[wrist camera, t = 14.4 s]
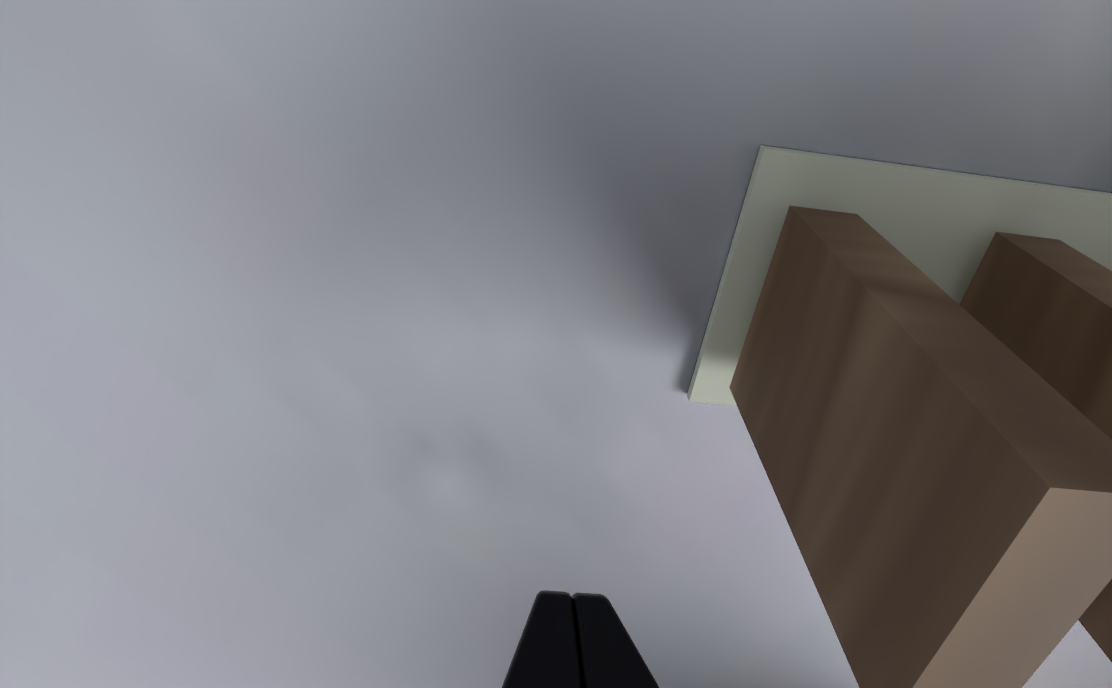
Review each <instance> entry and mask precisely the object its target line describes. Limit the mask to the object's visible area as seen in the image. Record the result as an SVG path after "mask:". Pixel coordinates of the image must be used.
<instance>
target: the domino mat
mask: <svg viewBox="0 0 1112 688" xmlns="http://www.w3.org/2000/svg"><path fill="white" fill-rule="evenodd" d="M789 206H798V207H806V208H814V209H822V210H830V211H837V212H845V213H853V214H858V215H859V216H860V217H861V218H862V219H863V220H864V221H866V222H867V223H868V224H869V225H870V226H871V227H872V228H873V229H875V230H876V231H877V232H878V233H879V234H880V235H881V236H882V237H884V238H885V239H886V240H887V241H888V242H889V243H890V244H892V245H893V246H894V247H895V248H896V249H897V250H898V251H899V252H901V253H902V254H903V255H904V256H905V257H906V258H907V259H908V260H910V261H911V262H912V263H913V264H914V265H915V266H916V267H917V268H919V269H920V270H921V271H922V272H923V273H924V274H925V275H926V276H928V277H929V278H930V279H931V280H932V281H933V282H934V283H935V284H937V285H938V286H939V287H940V288H941V289H942V290H943V291H945V292H946V293H947V294H948V295H949V296H950V297H951V298H952V299H954V300H955V301H956V302H957V303H958V304H960V302H961V300H962V298H963V296H964V294H965V292H966V290H967V288H968V286H969V284H970V282H971V280H972V278H973V276H974V274H975V272H976V270H977V268H978V266H979V264H980V263H981V261H982V259H983V257H984V255H985V253H986V251H987V249H988V247H989V245H990V243H991V241H992V239H993V237H994V235H995V233H996V232H1003V233H1011V234H1019V235H1027V236H1034V237H1042V238H1050V239H1058V240H1061V241H1062V242H1064V243H1066V244H1067V245H1069V246H1071V247H1072V248H1074V249H1076V250H1077V251H1079V252H1081V253H1082V254H1084V255H1086V256H1087V257H1089V258H1091V259H1092V260H1094V261H1096V262H1097V263H1099V264H1101V265H1102V266H1104V267H1106V268H1107V269H1109V270H1111V271H1112V193H1107V192H1099V191H1092V190H1085V189H1077V188H1070V187H1063V186H1055V185H1048V184H1041V183H1033V182H1026V181H1019V180H1011V179H1004V178H997V177H989V176H982V175H975V174H967V173H960V172H953V171H945V170H938V169H931V168H923V167H916V166H909V165H902V164H894V163H887V162H880V161H872V160H865V159H858V158H850V157H843V156H836V155H828V154H821V153H814V152H806V151H799V150H792V149H784V148H777V147H770V146H762V145H760V149H759V152H758V156H757V159H756V162H755V166H754V169H753V173H752V176H751V179H750V183H749V186H748V190H747V193H746V196H745V200H744V203H743V207H742V210H741V213H740V217H739V220H738V224H737V227H736V230H735V234H734V237H733V241H732V244H731V247H730V251H729V254H728V258H727V261H726V264H725V268H724V271H723V275H722V278H721V281H720V285H719V288H718V291H717V295H716V298H715V302H714V305H713V308H712V312H711V315H710V319H709V322H708V325H707V329H706V332H705V336H704V339H703V342H702V346H701V349H700V353H699V356H698V359H697V363H696V366H695V370H694V373H693V376H692V380H691V383H690V387H689V390H688V393H687V397H688V399H689V402H700V403H710V404H721V405H732V406H737V404H736V402H735V400H734V397H733V395H732V393H731V390H730V388H729V387H730V384H731V381H732V378H733V375H734V372H735V369H736V366H737V363H738V360H739V357H740V354H741V351H742V348H743V345H744V341H745V338H746V335H747V332H748V329H749V326H750V323H751V320H752V317H753V314H754V311H755V308H756V305H757V302H758V299H759V296H760V293H761V290H762V287H763V284H764V281H765V278H766V275H767V272H768V269H769V266H770V263H771V260H772V257H773V254H774V251H775V248H776V245H777V242H778V239H779V236H780V233H781V230H782V227H783V224H784V221H785V218H786V215H787V212H788V209H789Z"/></svg>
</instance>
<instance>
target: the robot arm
mask: <svg viewBox="0 0 1112 688" xmlns="http://www.w3.org/2000/svg"><path fill="white" fill-rule="evenodd" d="M502 688H659V686H658V685H657V683H656V681H655V679H654V678H653V676H652V674H651V672H650V671H649V669H648V667H647V665H646V664H645V662H644V660H643V659H642V657H641V655H640V653H639V652H638V650H637V648H636V646H635V645H634V643H633V641H632V640H631V638H630V636H629V634H628V633H627V631H626V629H625V627H624V626H623V624H622V622H621V620H620V619H619V617H618V615H617V614H616V612H615V610H614V608H613V607H612V605H611V603H610V602H609V600H608V599H607V598H606V597H605V596H604V595H601V594H589V593H575V594H574V595H573V596H572V597H571V595H570V594H569V593H567V592H559V591H540V592H539V593H538V594H537V596H536V599H535V601H534V604H533V606H532V609H531V612H530V614H529V617H528V620H527V622H526V625H525V628H524V630H523V633H522V636H521V638H520V641H519V644H518V646H517V649H516V651H515V654H514V657H513V659H512V662H511V665H510V667H509V670H508V673H507V675H506V678H505V681H504V683H503V686H502Z"/></svg>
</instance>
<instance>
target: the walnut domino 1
mask: <svg viewBox="0 0 1112 688" xmlns="http://www.w3.org/2000/svg"><path fill="white" fill-rule="evenodd" d="M729 388H730V390H731V393H732V395H733V397H734V400H735V402H736V404H737V407H738V409H739V411H740V413H741V416H742V418H743V420H744V423H745V425H746V427H747V430H748V432H749V434H750V436H751V439H752V441H753V443H754V446H755V448H756V450H757V453H758V455H759V457H760V459H761V462H762V464H763V466H764V469H765V471H766V473H767V476H768V478H769V480H770V483H771V485H772V487H773V489H774V492H775V494H776V496H777V499H778V501H779V503H780V506H781V508H782V510H783V512H784V515H785V517H786V519H787V522H788V524H789V526H790V529H791V531H792V533H793V536H794V538H795V540H796V542H797V545H798V547H799V549H800V552H801V554H802V556H803V559H804V561H805V563H806V565H807V568H808V570H809V572H810V575H811V577H812V579H813V582H814V584H815V586H816V588H817V591H818V593H819V595H820V598H821V600H822V602H823V605H824V607H825V609H826V612H827V614H828V616H829V618H830V621H831V623H832V625H833V628H834V630H835V632H836V635H837V637H838V639H839V641H840V644H841V646H842V648H843V651H844V653H845V655H846V658H847V660H848V662H849V664H850V667H851V669H852V671H853V674H854V676H855V678H856V681H857V683H858V685H859V688H1022V687H1023V685H1024V684H1025V683H1026V682H1027V681H1028V679H1029V678H1030V677H1031V676H1032V675H1033V673H1034V672H1035V671H1036V670H1037V669H1038V667H1039V666H1040V665H1041V664H1042V662H1043V661H1044V660H1045V659H1046V658H1047V656H1048V655H1049V654H1050V653H1051V652H1052V650H1053V649H1054V648H1055V647H1056V646H1057V644H1058V643H1059V642H1060V641H1061V639H1062V638H1063V637H1064V636H1065V635H1066V633H1067V632H1068V631H1069V630H1070V629H1071V627H1072V626H1073V625H1074V624H1075V623H1076V621H1077V620H1078V619H1079V618H1080V616H1081V615H1082V614H1083V613H1084V612H1085V610H1086V609H1087V608H1088V607H1089V606H1090V604H1091V603H1092V602H1093V601H1094V600H1095V598H1096V597H1097V596H1098V595H1099V593H1100V592H1101V591H1102V590H1103V589H1104V587H1105V586H1106V585H1107V584H1108V583H1109V581H1110V580H1111V579H1112V440H1111V439H1110V438H1109V437H1108V436H1107V435H1106V434H1105V433H1103V432H1102V431H1101V430H1100V429H1099V428H1098V427H1097V426H1096V425H1094V424H1093V423H1092V422H1091V421H1090V420H1089V419H1088V418H1087V417H1085V416H1084V415H1083V414H1082V413H1081V412H1080V411H1079V410H1078V409H1076V408H1075V407H1074V406H1073V405H1072V404H1071V403H1070V402H1069V401H1067V400H1066V399H1065V398H1064V397H1063V396H1062V395H1061V394H1059V393H1058V392H1057V391H1056V390H1055V389H1054V388H1053V387H1052V386H1050V385H1049V384H1048V383H1047V382H1046V381H1045V380H1044V379H1043V378H1041V377H1040V376H1039V375H1038V374H1037V373H1036V372H1035V371H1034V370H1032V369H1031V368H1030V367H1029V366H1028V365H1027V364H1026V363H1025V362H1023V361H1022V360H1021V359H1020V358H1019V357H1018V356H1017V355H1016V354H1014V353H1013V352H1012V351H1011V350H1010V349H1009V348H1008V347H1007V346H1005V345H1004V344H1003V343H1002V342H1001V341H1000V340H999V339H997V338H996V337H995V336H994V335H993V334H992V333H991V332H990V331H988V330H987V329H986V328H985V327H984V326H983V325H982V324H981V323H979V322H978V321H977V320H976V319H975V318H974V317H973V316H972V315H970V314H969V313H968V312H967V311H966V310H965V309H964V308H963V307H961V306H960V305H959V304H958V303H957V302H956V301H955V300H954V299H952V298H951V297H950V296H949V295H948V294H947V293H946V292H945V291H943V290H942V289H941V288H940V287H939V286H938V285H937V284H935V283H934V282H933V281H932V280H931V279H930V278H929V277H928V276H926V275H925V274H924V273H923V272H922V271H921V270H920V269H919V268H917V267H916V266H915V265H914V264H913V263H912V262H911V261H910V260H908V259H907V258H906V257H905V256H904V255H903V254H902V253H901V252H899V251H898V250H897V249H896V248H895V247H894V246H893V245H892V244H890V243H889V242H888V241H887V240H886V239H885V238H884V237H882V236H881V235H880V234H879V233H878V232H877V231H876V230H875V229H873V228H872V227H871V226H870V225H869V224H868V223H867V222H866V221H864V220H863V219H862V218H861V217H860V216H859V215H858V214H853V213H845V212H837V211H830V210H822V209H814V208H806V207H798V206H789V209H788V212H787V215H786V218H785V221H784V224H783V227H782V230H781V233H780V236H779V239H778V242H777V245H776V248H775V251H774V254H773V257H772V260H771V263H770V266H769V269H768V272H767V275H766V278H765V281H764V284H763V287H762V290H761V293H760V296H759V299H758V302H757V305H756V308H755V311H754V314H753V317H752V320H751V323H750V326H749V329H748V332H747V335H746V338H745V341H744V345H743V348H742V351H741V354H740V357H739V360H738V363H737V366H736V369H735V372H734V375H733V378H732V381H731V384H730V387H729Z"/></svg>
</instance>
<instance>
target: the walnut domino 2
mask: <svg viewBox="0 0 1112 688" xmlns="http://www.w3.org/2000/svg"><path fill="white" fill-rule="evenodd" d="M959 305H960V306H961V307H963V308H964V309H965V310H966V311H967V312H968V313H969V314H970V315H972V316H973V317H974V318H975V319H976V320H977V321H978V322H979V323H981V324H982V325H983V326H984V327H985V328H986V329H987V330H988V331H990V332H991V333H992V334H993V335H994V336H995V337H996V338H997V339H999V340H1000V341H1001V342H1002V343H1003V344H1004V345H1005V346H1007V347H1008V348H1009V349H1010V350H1011V351H1012V352H1013V353H1014V354H1016V355H1017V356H1018V357H1019V358H1020V359H1021V360H1022V361H1023V362H1025V363H1026V364H1027V365H1028V366H1029V367H1030V368H1031V369H1032V370H1034V371H1035V372H1036V373H1037V374H1038V375H1039V376H1040V377H1041V378H1043V379H1044V380H1045V381H1046V382H1047V383H1048V384H1049V385H1050V386H1052V387H1053V388H1054V389H1055V390H1056V391H1057V392H1058V393H1059V394H1061V395H1062V396H1063V397H1064V398H1065V399H1066V400H1067V401H1069V402H1070V403H1071V404H1072V405H1073V406H1074V407H1075V408H1076V409H1078V410H1079V411H1080V412H1081V413H1082V414H1083V415H1084V416H1085V417H1087V418H1088V419H1089V420H1090V421H1091V422H1092V423H1093V424H1094V425H1096V426H1097V427H1098V428H1099V429H1100V430H1101V431H1102V432H1103V433H1105V434H1106V435H1107V436H1108V437H1109V438H1110V439H1111V440H1112V271H1111V270H1109V269H1107V268H1106V267H1104V266H1102V265H1101V264H1099V263H1097V262H1096V261H1094V260H1092V259H1091V258H1089V257H1087V256H1086V255H1084V254H1082V253H1081V252H1079V251H1077V250H1076V249H1074V248H1072V247H1071V246H1069V245H1067V244H1066V243H1064V242H1062V241H1061V240H1058V239H1050V238H1042V237H1034V236H1027V235H1019V234H1011V233H1003V232H996V233H995V235H994V237H993V239H992V241H991V243H990V245H989V247H988V249H987V251H986V253H985V255H984V257H983V259H982V261H981V263H980V264H979V266H978V268H977V270H976V272H975V274H974V276H973V278H972V280H971V282H970V284H969V286H968V288H967V290H966V292H965V294H964V296H963V298H962V300H961V302H960V304H959ZM1078 620H1079V621H1080V623H1081V624H1082V625H1083V626H1084V628H1085V629H1086V630H1087V631H1088V633H1089V634H1090V635H1091V637H1092V638H1093V639H1094V640H1095V642H1096V643H1097V644H1098V645H1099V647H1100V648H1101V649H1102V651H1103V652H1104V653H1105V654H1106V656H1107V657H1108V658H1109V659H1110V661H1111V662H1112V579H1111V580H1110V581H1109V583H1108V584H1107V585H1106V586H1105V587H1104V589H1103V590H1102V591H1101V592H1100V593H1099V595H1098V596H1097V597H1096V598H1095V600H1094V601H1093V602H1092V603H1091V604H1090V606H1089V607H1088V608H1087V609H1086V610H1085V612H1084V613H1083V614H1082V615H1081V616H1080V618H1079V619H1078Z"/></svg>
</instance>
